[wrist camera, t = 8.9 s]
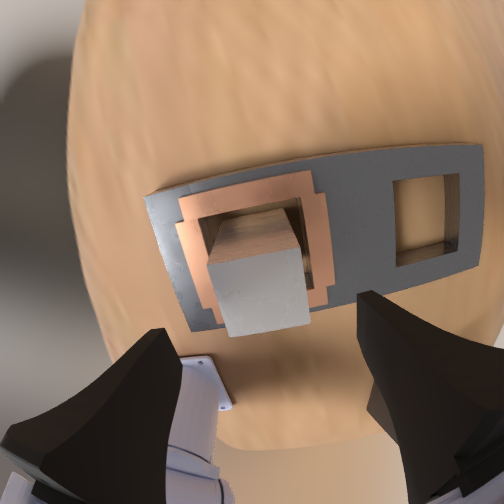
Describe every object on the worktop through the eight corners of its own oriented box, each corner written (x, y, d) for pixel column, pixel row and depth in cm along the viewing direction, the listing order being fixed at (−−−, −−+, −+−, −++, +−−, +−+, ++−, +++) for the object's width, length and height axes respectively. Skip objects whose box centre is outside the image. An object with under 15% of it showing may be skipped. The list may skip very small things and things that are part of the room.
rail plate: (195, 316, 21) (190, 334, 19) (154, 191, 17) (141, 198, 15) (465, 256, 19) (480, 267, 17) (466, 142, 15) (484, 145, 13)
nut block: (236, 273, 20) (229, 337, 13) (222, 220, 18) (206, 265, 12) (292, 263, 19) (310, 323, 13) (282, 207, 18) (300, 247, 11)
